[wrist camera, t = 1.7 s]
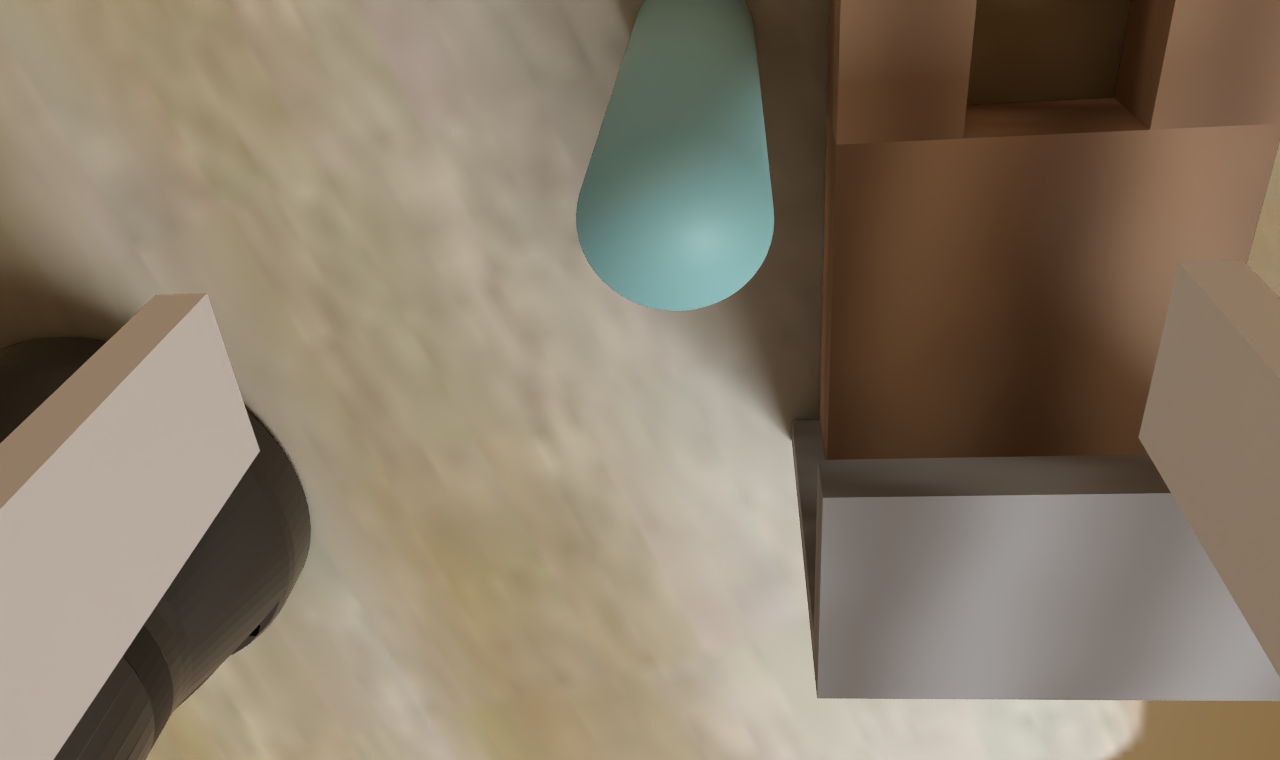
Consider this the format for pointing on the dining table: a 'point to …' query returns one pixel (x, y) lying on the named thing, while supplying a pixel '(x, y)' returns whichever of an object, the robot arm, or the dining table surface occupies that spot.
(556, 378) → the dining table surface
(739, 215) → the peg
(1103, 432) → the socket station
